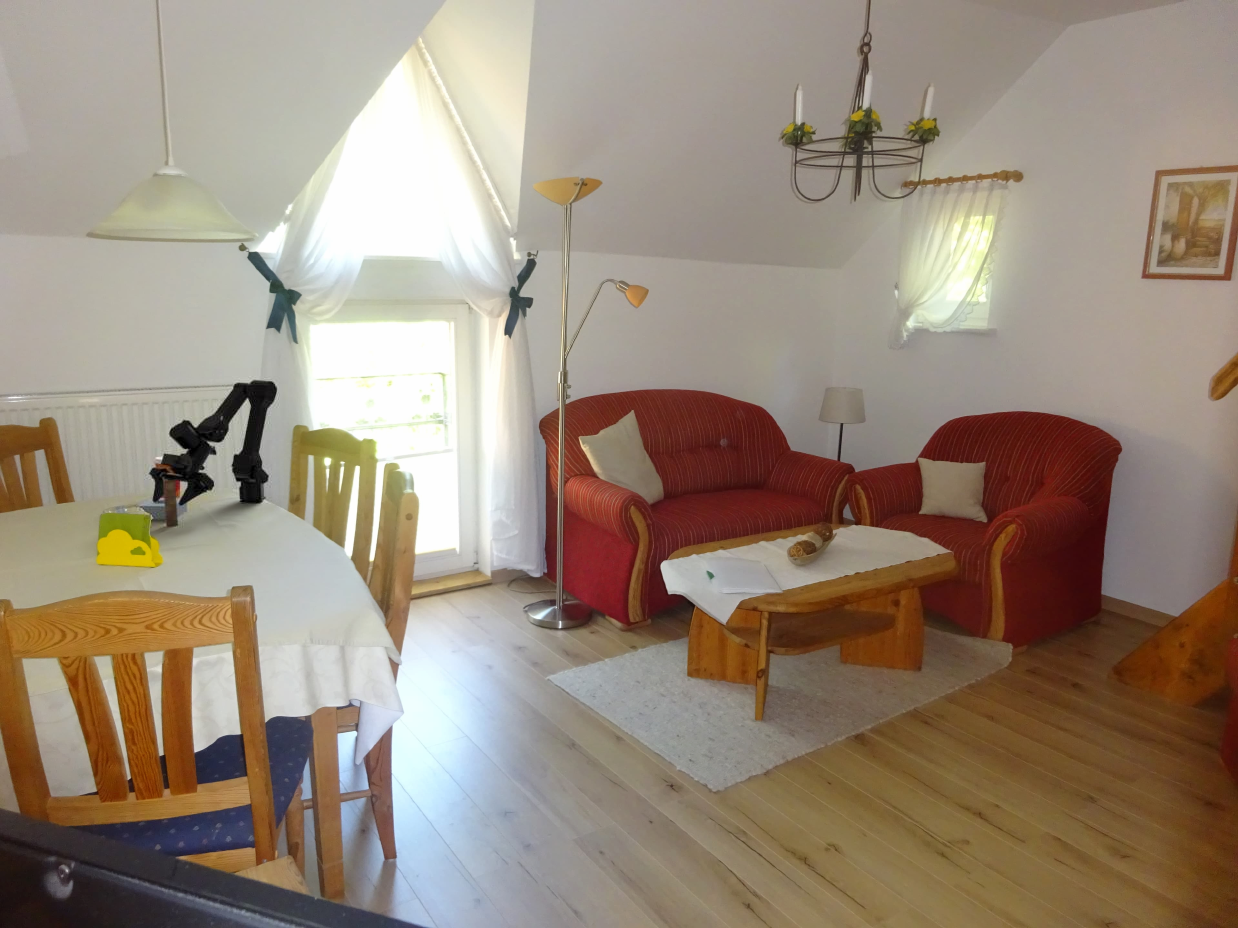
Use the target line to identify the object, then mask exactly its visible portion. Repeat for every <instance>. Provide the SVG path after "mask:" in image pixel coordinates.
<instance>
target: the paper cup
mask: <svg viewBox="0 0 1238 928" xmlns="http://www.w3.org/2000/svg"><path fill="white" fill-rule="evenodd" d="M162 458H163V455H161V456H156V457H155V458H154V461H153V463H154V465H155V467H160V468H166V469H167V470H168V471H169V472H170V473H172V474H174V471H171V470H170V469H169V468H170V467H169V466H167V465H162V464H161V462H162ZM175 486H176V498H181V481H175ZM161 498H164V495H163V496H162V497H161Z"/></svg>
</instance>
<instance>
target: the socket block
mask: <svg viewBox="0 0 1238 928" xmlns="http://www.w3.org/2000/svg"><path fill="white" fill-rule="evenodd" d="M180 499H181V497H180V498H176V502H177V517H180V516H182V515H183V514H184V513H187V511H188V506H187V505H188V504H187V503H188V502H187V503H185V504H184V505H182V506H180V505H179V501H180ZM137 507H140V508H142V509H143V510H144V511H145V512H147V513H149V514H150V515H152V517H153V519H152V520H166V516H165V501H164V498H160V499H159V500H158V501H157V502H153V497H150V498H149V499H147V500H144V501H143V502H141V503H139V504H137V505H136V508H137Z"/></svg>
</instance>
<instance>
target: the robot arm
mask: <svg viewBox="0 0 1238 928" xmlns="http://www.w3.org/2000/svg"><path fill="white" fill-rule="evenodd" d="M277 394H278V387H277V385H276V384H275V382H273V381H272V380H263V379H262V380H260V379H253V380H252V381H250V382H236V383H234V384H233V388H232V390H231V391H230V392H229V394H227V396H226V398H224V400H223V402H222V403H221V404H220V405H219V407H218V408H217V409H216V411H215V412H214V413H213V414H211V415H209V416H208V417H206V418H204V419H203V420H202V421H201V422H199V424H198V425H197V426H196V427H195V426H194V425H193V423H192V422H191V421H190V420H189V419H187V420H186V419H183V420H182V421H181V422H179V423H177V424H175V425H174V426H173V427H171V428H170V430H169V433H168V436H169V437H170V438H171V439H172V440H173V441H174V442H175V443H176V444H177V446H180V447H181V448H182V449H183V450H186V451H185V453H180V454H179V455H177V454H172V453H163V455H162V456H163V458H162V462H161V464H162V465H167V466H169V467H170V468H169V469H170V470H171V471H174V474H172V473H170V472H169V471H168V470H167V469H166V468H160V467H156V466H155V467H151V469H150V471H149V473H148V475H149V476H151V478H152V479H153V481H154V491H153V495H152V498H153V502H157V501H158V500H159V499H160V498H161V497H162V496H163V495H164V486H163V481H164V480H175V481H180V482H184V483H187V484H186V485H187V487H186V488H185V490H184V491H183V494H182V495H181V496H180V498H181V499H180V501H179V505H180V506H182V505H184V504H185V503H188V502H190V501H191V500H193V499H195V498H197V497H199V496H200V495H202V494H205V493H207V492H208V491H209V492H211V491H212V490H213V488H214V487H215V481H214V480H213V479H212V478H211V477H210V476H209V475H208V474H207V473H206V472H203V471H205V469H206V467H205V466H204V464H205V462H206V461H207V459H208V458H209V456H217V453H218V452H217V450H216V446H214V445H211V444H210V443H216V444H217V443H218V444H219V443H222V442H223V441H224V440H225V439H226V436H227V434H228V432H229V430H230V429H229V427H230V423H231V421H232V420H233V418H234V417H235V415H236V414H237V413H238V412H239V410H240V409H241V408H242V407H243V405H244V403H245V402H246V401H247V400H248V402H249V404H250V409H249V413H248V418H247V424H246V428H245V434H244V440H243V445H242V449H241V451H239V453H235V454H234V455H233V456H232V457H233V458H232V459H233V460H232V462H231V465H230V466H231V471H232V472H231V473H232V474H233V475H234V480H235V482H237V483H240V485H239V487H238V493H239V503H249V504H250V503H256V504H257V503H262V502H263V501H264V500H266V499H267V497H266V496H265V484H266V483H268V481H269V476H270V475H269V474H268V473H267V472H266V471H265V470H264V469H263V460H262V457H261V454H260V449H261V444H262V438H263V432H264V429H265V425H266V424H265V422H266V417H267V412H268V409H269V408H270V407H271V405H273V403H274V402H275V400H276V396H277ZM200 471H201V472H200ZM261 501H262V502H261Z"/></svg>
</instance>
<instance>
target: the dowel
mask: <svg viewBox="0 0 1238 928" xmlns="http://www.w3.org/2000/svg"><path fill="white" fill-rule="evenodd" d="M163 486H164V501H165V516H166V519H165V526H166V527H169V528H170V527H176V526H178V525H179V522H178V521H179V520H178V517H179V516H178V517H177V502H176V486H175V480H164V481H163Z"/></svg>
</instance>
